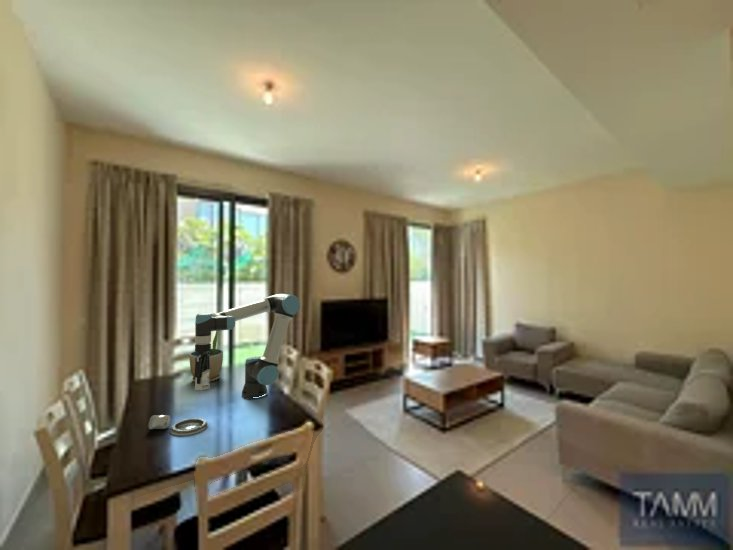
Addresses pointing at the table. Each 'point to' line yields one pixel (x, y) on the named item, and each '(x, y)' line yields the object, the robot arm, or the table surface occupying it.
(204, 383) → the knob
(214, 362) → the potted plant
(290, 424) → the table surface
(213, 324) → the robot arm
